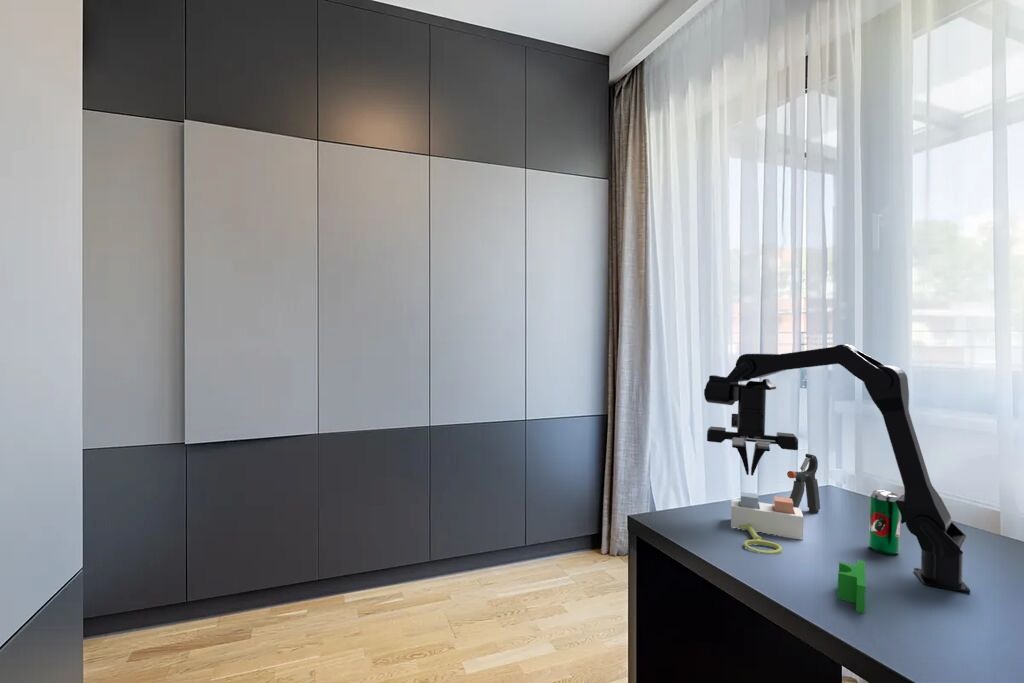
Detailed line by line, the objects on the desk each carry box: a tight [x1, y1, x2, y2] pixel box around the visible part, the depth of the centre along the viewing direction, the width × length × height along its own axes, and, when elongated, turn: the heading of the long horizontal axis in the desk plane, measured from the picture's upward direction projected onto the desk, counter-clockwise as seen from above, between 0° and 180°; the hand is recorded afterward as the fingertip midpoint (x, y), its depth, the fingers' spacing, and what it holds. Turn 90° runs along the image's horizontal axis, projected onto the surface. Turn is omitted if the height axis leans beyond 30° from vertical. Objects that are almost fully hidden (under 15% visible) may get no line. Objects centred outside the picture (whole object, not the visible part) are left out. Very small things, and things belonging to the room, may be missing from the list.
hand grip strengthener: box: [786, 453, 821, 514], centre depth 125 cm, size 2×12×15 cm, turn 118°
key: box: [739, 524, 783, 555], centre depth 108 cm, size 7×12×2 cm, turn 9°
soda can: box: [868, 489, 901, 556], centre depth 105 cm, size 5×5×12 cm
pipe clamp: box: [837, 559, 866, 614], centre depth 86 cm, size 11×4×5 cm, turn 145°
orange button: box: [773, 495, 793, 514], centre depth 114 cm, size 4×4×5 cm
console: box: [730, 498, 804, 541], centre depth 115 cm, size 6×14×5 cm, turn 66°
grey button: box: [740, 491, 759, 509], centre depth 117 cm, size 4×4×5 cm
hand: (749, 474), depth 117 cm, fingers closed
